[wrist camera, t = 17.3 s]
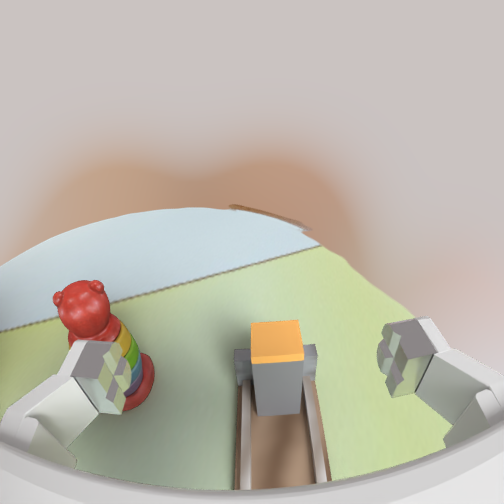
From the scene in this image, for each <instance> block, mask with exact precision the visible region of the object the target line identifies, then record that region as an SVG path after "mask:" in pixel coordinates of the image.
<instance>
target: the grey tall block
mask: <svg viewBox="0 0 504 504" xmlns="http://www.w3.org/2000/svg"><path fill="white" fill-rule="evenodd" d="M251 362H252V371H253V379H254V388H255V397H256V405H257V414H258V416H275V415H288V414H299V413H300V404H301V392H302V379H303V365H304V349H303V344H302V338H301V333H300V328H299V322H298V320H290V321H276V322H260V323H251Z"/></svg>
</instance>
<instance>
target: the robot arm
mask: <svg viewBox="0 0 504 504" xmlns="http://www.w3.org/2000/svg"><path fill="white" fill-rule="evenodd" d="M382 335H383V338H384V339H383V340H382V341H381V342H380V343H379V345H378V349H377V362H378V366H379V368H380V371H381V372H382V373H384V374H385V375H387V379H386V381H385V383H386V386H387V388H388V390H389V393H390V395H391V398H395V397H400V396H404V395H408V394H412V393H415V395H417V396H418V397H419V398H420V399H421V400H423V401H424V402H425V403H426V404H428V405H429V406H430V407H431V408H432V409H434V410H435V411H436V412H437V413H438V414H440V415H441V416H442V417H443V418H445V419H446V420H447V421H448V422H449V423H451V424H452V425H453V426H452V427H451V428H450V430H449V431H448V432H447V433H446V434H445V436H444V438H443V441H444V443H445V446H446V448H444V449H442V450H439V451H437V452H434V453H432V454H429V455H426V456H423V457H421V458H418V459H415V460H412V461H409V462H406V463H403V464H399V465H396V466H393V467H389V468H386V469H382V470H379V471H375V472H371V473H367V474H363V475H358V476H354V477H349V478H345V479H339V480H334V481H329V482H323V483H316V484H309V485H302V486H293V487H283V488H271V489H254V490H205V489H187V488H175V487H166V486H157V485H150V484H143V483H136V482H131V481H125V480H120V479H115V478H110V477H105V476H101V475H97V474H93V473H89V472H85V471H81V470H78V469H75V466H76V463H77V459H76V457H75V456H74V455H73V454H72V453H70V452H69V451H68V450H67V449H66V448H67V447H68V446H69V445H70V444H71V443H72V442H73V441H74V440H75V439H76V438H77V437H78V436H79V435H80V433H81V432H82V431H83V430H84V429H85V428H86V427H87V426H88V425H89V424H90V423H91V422H92V421H93V420H94V419H95V417H96V416H97V415H98V414H99V413H98V412H100V413H109V414H119V415H121V414H122V410H123V407H124V404H125V400H126V397H125V395H124V392H125V391H126V390H127V389H128V388H129V387H130V383H131V368H130V365H129V363H128V361H127V360H126V359H125V358H124V357H122V356H121V354H122V351H123V350H122V348H121V346H120V344H119V343H117V342H107V341H93V340H90V341H89V340H76V341H75V342H74V343H73V345H72V347H71V349H70V351H69V353H68V354H67V356H66V358H65V360H64V362H63V364H62V366H61V368H60V370H59V372H58V374H57V375H56V374H53V375H52V376H50V377H49V378H48V379H46V380H45V381H44V382H42V383H41V384H40V385H38V386H37V387H35V388H34V389H33V390H31V391H30V392H29V393H27V394H26V395H25V396H23V397H22V398H21V399H19V400H18V401H16V402H15V403H14V404H12V405H11V406H10V407H8V408H7V410H6V412H5V414H4V416H3V418H2V420H1V422H0V504H504V375H502V374H501V373H499V372H497V371H495V370H493V369H491V368H490V367H488V366H486V365H484V364H483V363H481V362H479V361H477V360H475V359H473V358H471V357H470V356H468V355H466V354H464V353H463V352H461V351H459V350H457V349H455V348H454V349H451V348H450V346H449V345H448V343H447V342H446V340H445V339H444V337H443V336H442V334H441V333H440V331H439V330H438V328H437V327H436V326H435V324H434V323H433V321H432V320H431V319H430V317H428V316H424V317H419V318H414V319H409V320H404V321H398V322H393V323H387V324H385V325H384V327H383V330H382Z"/></svg>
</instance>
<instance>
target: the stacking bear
mask: <svg viewBox="0 0 504 504" xmlns="http://www.w3.org/2000/svg"><path fill="white" fill-rule="evenodd" d="M53 303H54V304H55V305H56V306H57V308H58V314H59V317H60V319H61V321H62V323H63V324H64V326H65V327H66V328H67V329H68V330H69V334H68V342H69V349H71V347H72V345H73V343H74V342H75V341H76V340H89V341H90V340H93V341H107V342H117V343H119V344H120V346H121V348H122V350H123V351H122V354H121V356H122V357H124V358H125V359H126V360H127V361H128V363H129V365H130V368H131V383H130V387H129V388H128V389H127V390H126V391H125V392H124V395H125V397H126V400H125V404H124V407H123V410H122V411H126V410H130V409H132V408H134V407H136V406H138V405H139V404H141V403H142V402H143V401H144V400H145V399H146V397H147V396H148V394H149V392H150V390H151V388H152V385H153V381H154V366H153V363H152V361H151V359H150V357H149V356H148V355H146V354H143V353H140V351H139V348H138V346H137V344H136V342H135V340H134V338H133V337H132V335H131V334H130V333H129V331H128V330H127V328H126V327H125V325H124V324H123V323H122V322H121V321H120V320H119V319H118V318H117V317H116V316H114V315H113V314H111V313H110V304H109V300H108V297H107V295H106V293H105V291H104V285H103V283H102V282H100V281H98V280H93V281H87V280H82V281H77V282H74V283H71V284H70V285H68V286H67V287H65V288H64V289H63V291H62V292H60V291H59V292H56V293H55V294H54V296H53Z"/></svg>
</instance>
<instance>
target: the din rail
mask: <svg viewBox="0 0 504 504" xmlns="http://www.w3.org/2000/svg"><path fill="white" fill-rule="evenodd" d="M303 349H304V365H303V379H302V392H301V404H300V413H299V414H288V415H275V416H258V414H257V405H256V397H255V388H254V379H253V371H252V362H251V349H235V350H234V365H235V371H236V377H237V382H238V403H237V431H236V461H235V490H254V489H271V488H283V487H293V486H302V485H309V484H316V483H323V482H329V481H332V479H331V472H330V466H329V460H328V454H327V447H326V441H325V435H324V430H323V424H322V418H321V412H320V407H319V401H318V396H317V390H316V385H315V374H316V365H317V356H318V355H317V351H316V346H315V344H310V345H303Z"/></svg>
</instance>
